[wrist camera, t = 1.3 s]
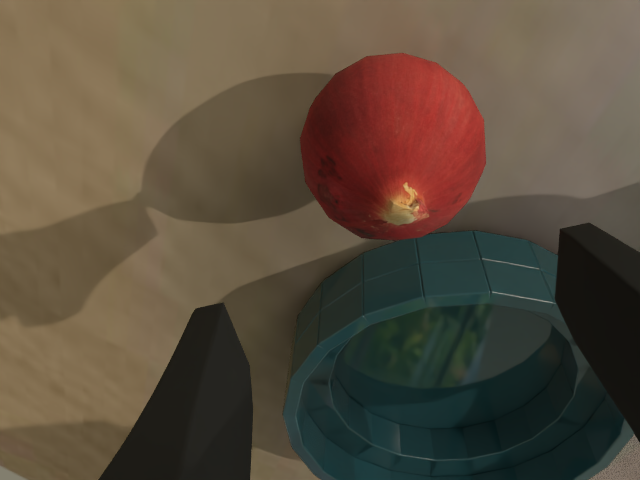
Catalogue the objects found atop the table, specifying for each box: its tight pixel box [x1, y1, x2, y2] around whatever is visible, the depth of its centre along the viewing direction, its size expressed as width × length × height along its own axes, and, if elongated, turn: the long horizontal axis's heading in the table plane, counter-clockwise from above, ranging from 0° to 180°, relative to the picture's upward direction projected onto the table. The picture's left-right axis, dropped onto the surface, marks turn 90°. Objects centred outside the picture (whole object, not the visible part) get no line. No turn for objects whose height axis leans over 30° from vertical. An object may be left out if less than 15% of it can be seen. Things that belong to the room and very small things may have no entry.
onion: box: [300, 53, 486, 240], centre depth 18 cm, size 6×6×8 cm
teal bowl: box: [283, 230, 634, 480], centre depth 27 cm, size 15×15×4 cm
